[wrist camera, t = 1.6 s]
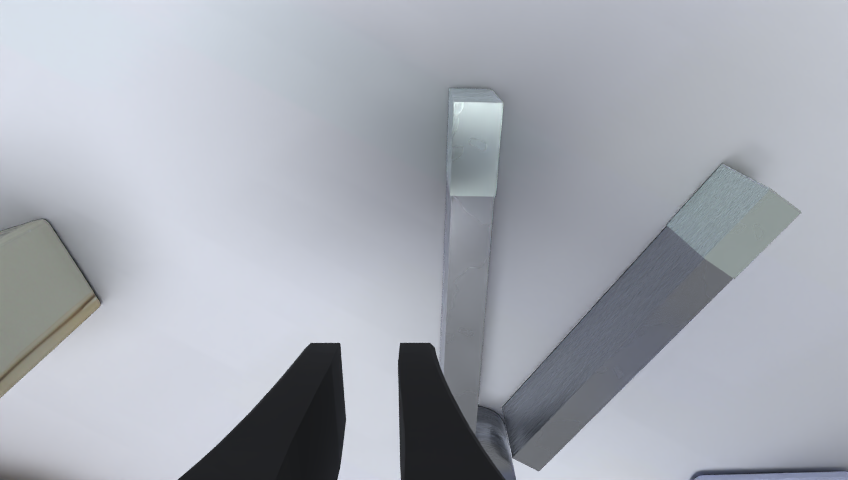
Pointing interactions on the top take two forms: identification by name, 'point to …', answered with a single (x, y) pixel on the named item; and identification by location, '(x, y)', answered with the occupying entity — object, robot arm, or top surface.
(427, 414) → the robot arm
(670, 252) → the bar
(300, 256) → the top surface
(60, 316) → the skincare box
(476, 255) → the tongs moving leg
